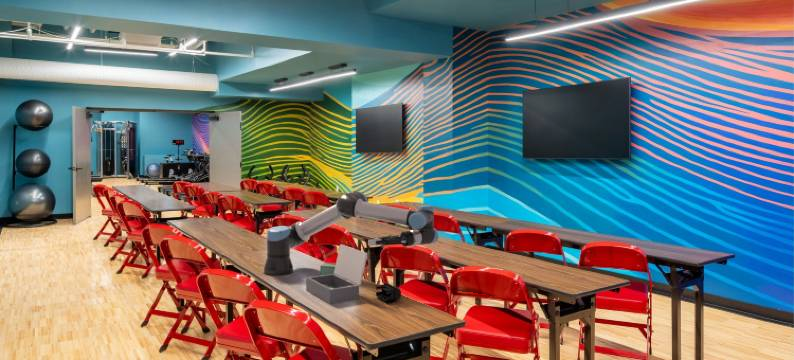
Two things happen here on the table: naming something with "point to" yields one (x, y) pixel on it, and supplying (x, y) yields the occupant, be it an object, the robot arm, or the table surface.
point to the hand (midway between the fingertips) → (369, 242)
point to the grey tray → (332, 288)
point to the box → (327, 269)
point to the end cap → (388, 293)
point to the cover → (350, 264)
